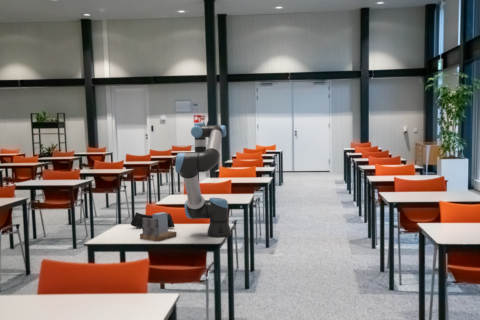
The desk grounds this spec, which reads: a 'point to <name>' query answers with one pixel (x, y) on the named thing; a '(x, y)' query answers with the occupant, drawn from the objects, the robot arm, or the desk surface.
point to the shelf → (154, 231)
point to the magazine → (138, 218)
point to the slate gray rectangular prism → (161, 222)
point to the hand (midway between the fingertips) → (201, 178)
